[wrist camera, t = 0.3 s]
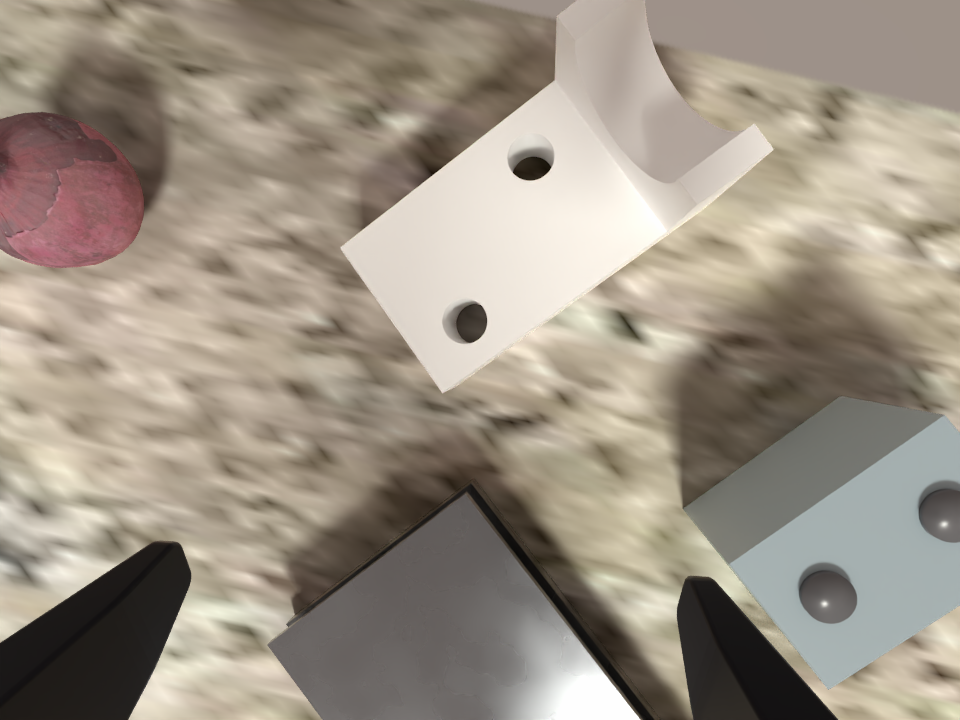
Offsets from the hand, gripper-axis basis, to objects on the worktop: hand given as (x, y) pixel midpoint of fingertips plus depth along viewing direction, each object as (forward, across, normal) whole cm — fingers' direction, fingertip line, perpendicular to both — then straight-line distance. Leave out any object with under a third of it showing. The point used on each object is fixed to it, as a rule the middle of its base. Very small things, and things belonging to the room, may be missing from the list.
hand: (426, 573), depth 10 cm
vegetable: (+19, +17, -1) cm, 26 cm away
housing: (+12, -14, +8) cm, 20 cm away
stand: (+8, -2, +18) cm, 19 cm away
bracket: (+18, -2, -1) cm, 18 cm away
